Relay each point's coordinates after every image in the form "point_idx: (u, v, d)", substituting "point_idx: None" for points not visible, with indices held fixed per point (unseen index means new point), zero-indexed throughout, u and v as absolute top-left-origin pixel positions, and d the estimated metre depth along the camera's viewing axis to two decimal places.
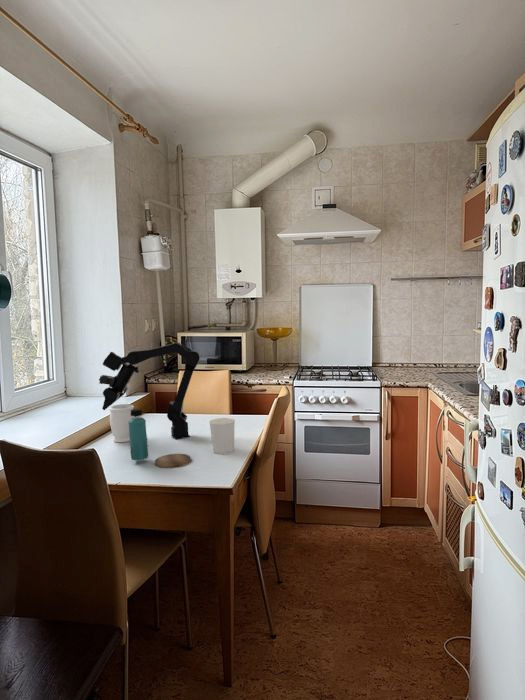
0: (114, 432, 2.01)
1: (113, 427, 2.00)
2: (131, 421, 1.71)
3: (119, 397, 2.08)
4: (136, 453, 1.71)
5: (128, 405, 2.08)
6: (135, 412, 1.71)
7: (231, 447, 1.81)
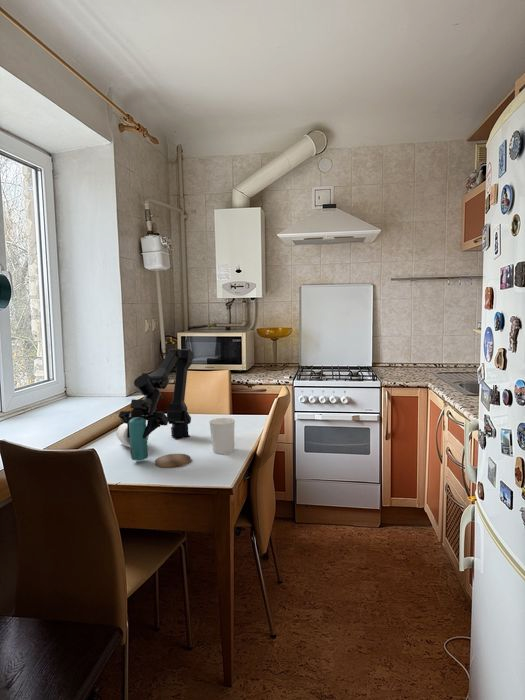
0: None
1: (120, 440, 1.94)
2: (131, 421, 1.71)
3: None
4: (136, 453, 1.71)
5: None
6: (135, 412, 1.71)
7: (231, 447, 1.81)
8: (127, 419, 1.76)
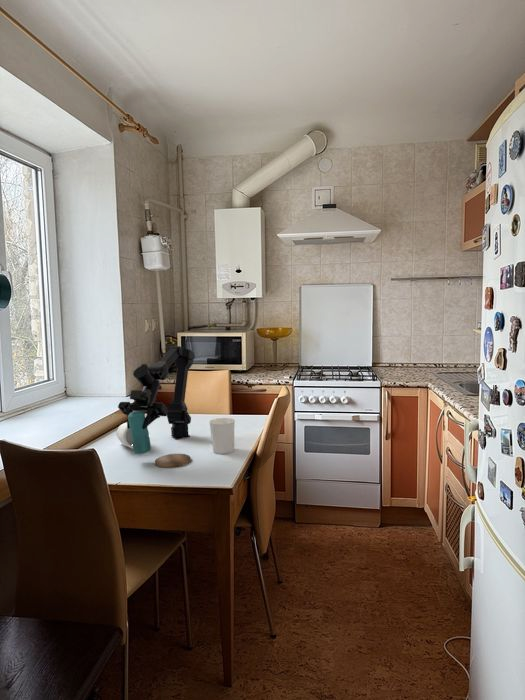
0: None
1: (120, 440, 1.94)
2: (130, 415, 1.71)
3: None
4: (138, 446, 1.71)
5: None
6: (133, 405, 1.71)
7: (231, 447, 1.81)
8: (127, 410, 1.76)
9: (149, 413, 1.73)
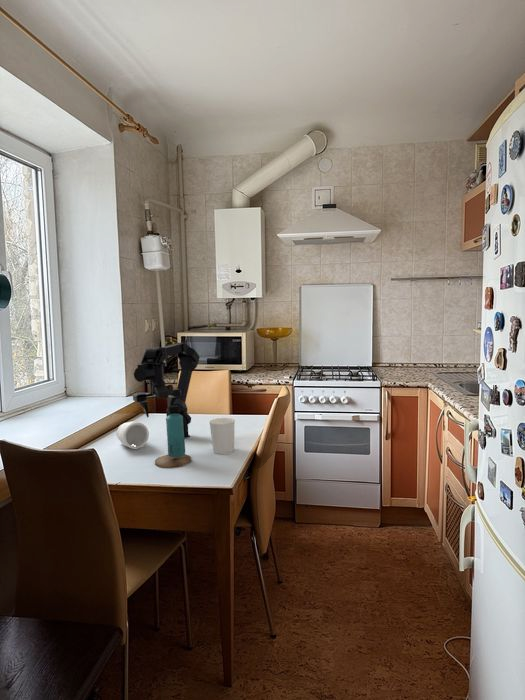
0: None
1: (120, 440, 1.94)
2: (171, 418, 1.70)
3: None
4: (177, 449, 1.70)
5: None
6: (175, 408, 1.70)
7: (231, 447, 1.81)
8: (144, 403, 1.86)
9: (173, 400, 1.93)
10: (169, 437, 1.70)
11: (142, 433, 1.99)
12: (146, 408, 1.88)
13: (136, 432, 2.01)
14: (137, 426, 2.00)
